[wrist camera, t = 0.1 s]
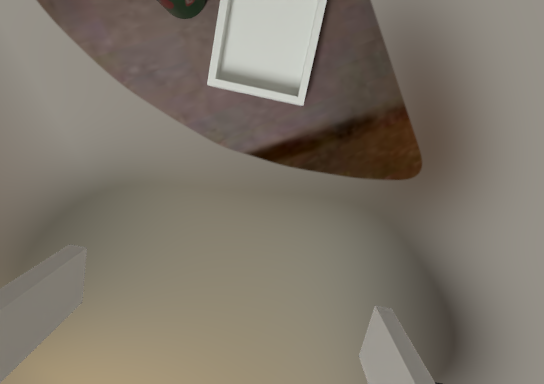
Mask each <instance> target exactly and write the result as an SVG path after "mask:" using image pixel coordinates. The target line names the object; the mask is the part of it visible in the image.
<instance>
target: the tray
mask: <svg viewBox="0 0 544 384" xmlns="http://www.w3.org/2000/svg"><path fill="white" fill-rule="evenodd" d="M326 2H327V0H220V5H219V12H218V18H217V25H216V31H215V37H214V44H213V50H212V56H211V63H210V69H209V76H208V82H207V85H209V86H212V87H216V88H221V89H225V90H230V91H235V92H239V93H244V94H248V95H253V96H258V97H262V98H267V99H272V100H276V101H281V102H285V103H290V104H295V105H299V106H303V105H304V100H305V96H306V91H307V87H308V82H309V78H310V74H311V69H312V65H313V60H314V56H315V51H316V47H317V42H318V38H319V33H320V29H321V24H322V20H323V15H324V11H325V6H326Z"/></svg>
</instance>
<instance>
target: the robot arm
mask: <svg viewBox="0 0 544 384" xmlns="http://www.w3.org/2000/svg"><path fill="white" fill-rule="evenodd" d="M86 252H87V248H85V247H81V246H75V245H68V246H66V247H64V248H63V249H62V250H60V251H58V252H57V253H55V254H54V255H52V256H51V257H49V258H47V259H46V260H44V261H43V262H41V263H40V264H38V265H36V266H35V267H33V268H32V269H30V270H29V271H27V272H25V273H24V274H22V275H21V276H19V277H18V278H16V279H14V280H13V281H11V282H10V283H8V284H7V285H5V286H4V287H2V288H0V383H1V381H3V380H4V379H5V378H6V377H7V376H8V375H9V374H10V373H11V372H12V371H13V370H14V369H15V368H16V367H17V366H18V365H19V364H20V363H21V362H22V361H23V360H24V359H25V358H26V357H27V356H28V355H29V354H30V353H31V352H32V351H33V350H34V349H35V348H36V347H37V346H38V345H39V344H40V343H41V342H42V341H43V340H44V339H45V338H46V337H47V336H48V335H49V334H51V332H53V331H54V330H55V328H57V327H58V326H59V325H60V324H61V323H62V322H63V321H64V320H65V319H66V318H67V317H68V316H69V315H70V314H71V313H72V312H73V311H74V310H75V309H76V308H77V307H78V306H79V305H80V304H81V303H82V298H83V286H84V275H85V263H86ZM359 358H360V361H361V363H362V367H363V369H364V372H365V376H366V379H367V382H368V384H441V383H436V382H434V380H433V379H432V377H431V375H430V374H429V372H428V370H427V369H426V367H425V365H424V364H423V362H422V360H421V358H420V356H419V355H418V353H417V351H416V350H415V348H414V347H413V345H412V343H411V341H410V340H409V338H408V336H407V334H406V333H405V331H404V329H403V327H402V326H401V324H400V323H399V321H398V319H397V317H396V316H395V314H394V312H393V311H392V309H391V308H386V307H381V306H376V305H375V307H374V311H373V314H372V317H371V320H370V323H369V326H368V329H367V332H366V335H365V338H364V342H363V345H362V348H361V351H360V354H359Z"/></svg>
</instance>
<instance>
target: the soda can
mask: <svg viewBox="0 0 544 384" xmlns="http://www.w3.org/2000/svg"><path fill="white" fill-rule="evenodd" d="M157 1H158V2H159V3H160V4H161V5H162V6H163V7H164V8H165V9H166V10H167V11H168V12H169V13H170V14H172V15H173V16H175V17H178V18H182V19H188V18H192V17H194V16H196V15H197V14H198V13H200V11H201V10H202V9H203V7H204V4H205V1H206V0H157Z"/></svg>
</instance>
